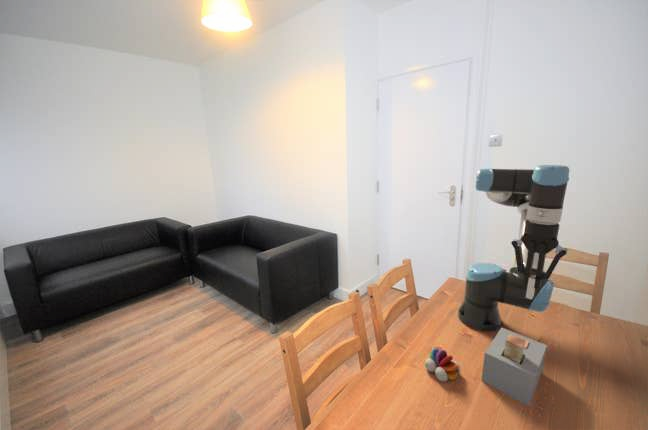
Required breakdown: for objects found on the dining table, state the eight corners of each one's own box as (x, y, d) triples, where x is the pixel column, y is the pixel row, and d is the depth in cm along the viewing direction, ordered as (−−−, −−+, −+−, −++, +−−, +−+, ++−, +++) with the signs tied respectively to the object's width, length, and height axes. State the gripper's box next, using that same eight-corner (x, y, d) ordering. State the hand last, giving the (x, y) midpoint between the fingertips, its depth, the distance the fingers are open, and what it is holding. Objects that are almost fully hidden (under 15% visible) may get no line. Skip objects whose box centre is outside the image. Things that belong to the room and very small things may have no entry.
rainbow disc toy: (445, 388, 81) (447, 368, 80) (420, 366, 90) (421, 347, 88) (464, 376, 85) (466, 357, 83) (438, 356, 93) (440, 338, 92)
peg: (501, 366, 81) (505, 340, 78) (505, 359, 83) (509, 333, 81) (517, 374, 78) (522, 347, 76) (520, 366, 81) (525, 340, 78)
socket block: (481, 380, 83) (485, 351, 81) (497, 352, 94) (501, 326, 91) (529, 406, 75) (535, 375, 72) (541, 372, 85) (547, 344, 83)
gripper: (511, 219, 79) (501, 293, 85) (571, 228, 70) (555, 310, 76) (518, 215, 84) (507, 285, 90) (575, 222, 75) (559, 300, 81)
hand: (529, 296), depth 83 cm, fingers closed
